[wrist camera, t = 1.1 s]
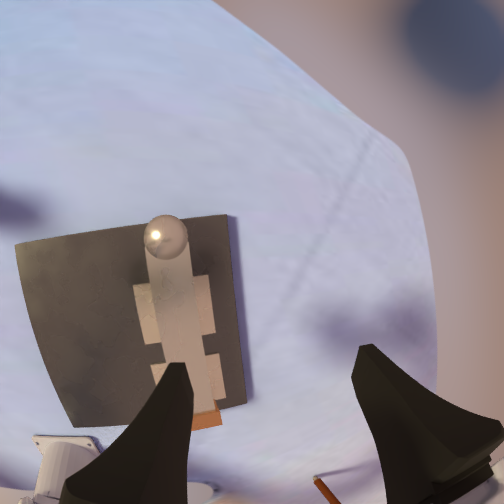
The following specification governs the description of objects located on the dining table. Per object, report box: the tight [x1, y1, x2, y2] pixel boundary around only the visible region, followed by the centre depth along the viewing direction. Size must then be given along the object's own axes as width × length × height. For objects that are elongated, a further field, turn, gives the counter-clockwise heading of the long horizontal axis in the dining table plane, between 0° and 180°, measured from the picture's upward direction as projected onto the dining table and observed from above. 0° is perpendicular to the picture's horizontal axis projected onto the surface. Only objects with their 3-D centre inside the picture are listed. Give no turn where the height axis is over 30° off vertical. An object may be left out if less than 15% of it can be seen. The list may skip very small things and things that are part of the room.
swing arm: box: [144, 215, 222, 431], centre depth 20 cm, size 18×4×2 cm, turn 5°
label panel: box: [15, 214, 247, 428], centre depth 21 cm, size 18×18×2 cm
